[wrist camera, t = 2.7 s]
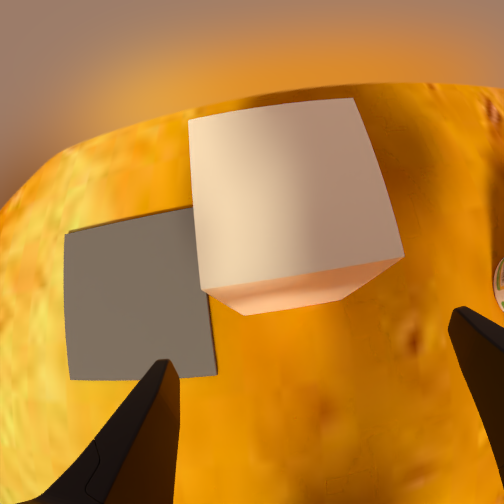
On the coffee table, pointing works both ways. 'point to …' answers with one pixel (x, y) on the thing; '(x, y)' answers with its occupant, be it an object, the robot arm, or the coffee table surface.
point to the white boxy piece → (288, 205)
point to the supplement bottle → (499, 284)
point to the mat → (136, 299)
